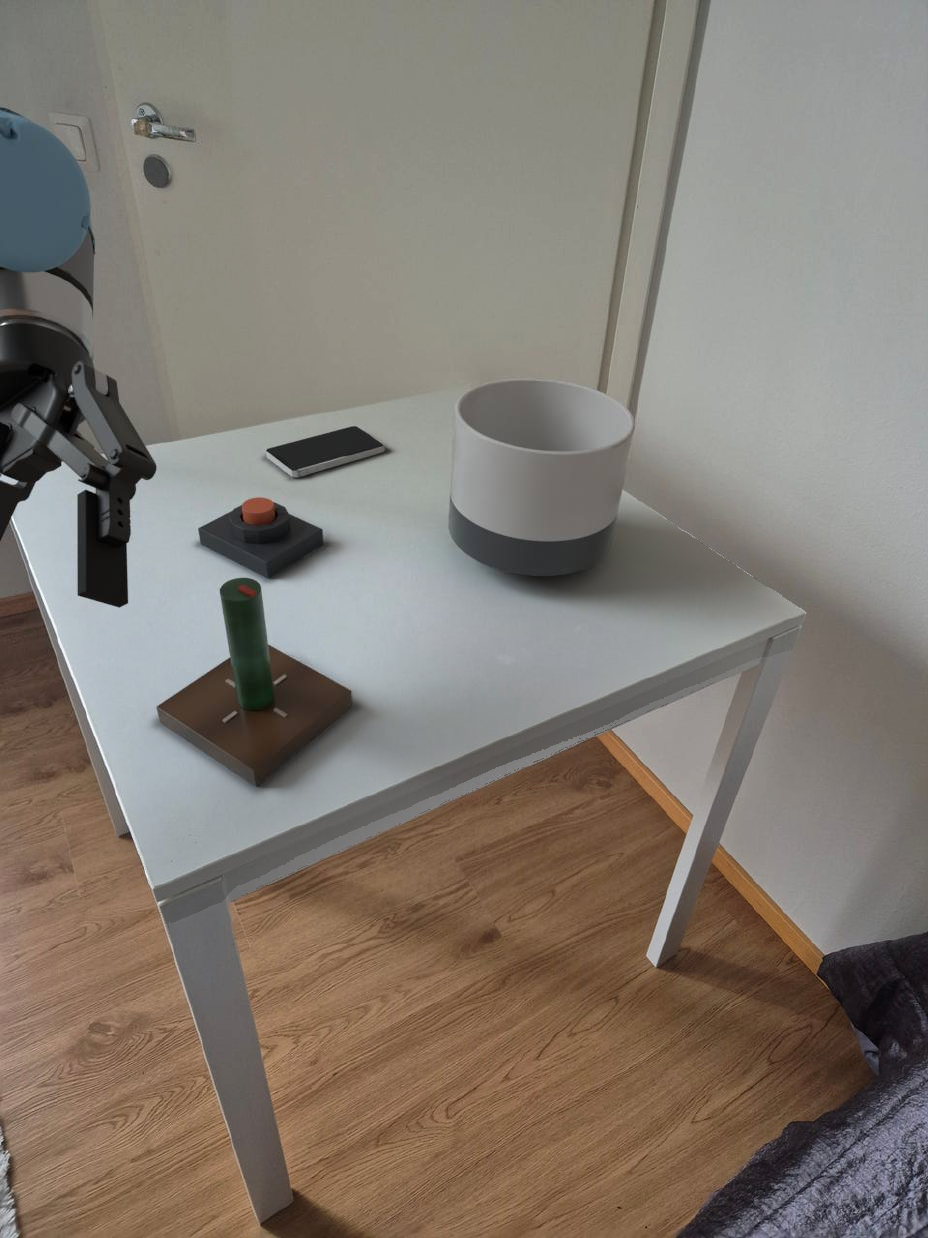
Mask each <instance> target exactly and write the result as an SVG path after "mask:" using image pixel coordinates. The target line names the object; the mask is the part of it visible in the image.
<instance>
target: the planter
mask: <svg viewBox="0 0 928 1238" xmlns="http://www.w3.org/2000/svg"><path fill="white" fill-rule="evenodd" d="M453 411H454V412H453V432H452V449H451V468H450V485H449V486H450V488H449V507H448V524H447V525H448V531H449V532H448V533H449V534H450V537H451V539H452V541H453V542H454V544H455V545H456V546H457V547H458V548H459V550H461V551H462V552H463V553H464V554H466V555H467V556H469V557H470V558H471V559H473V560H475V561H477V562H479V563H481V564H482V565H486V566H488V567H490V568H493V569H495V570H498V571H502V572H505V573H506V572H507V573H510V574H515V575H522V576H532V577H554V576H555V577H556V576H563V575H569V574H573V573H578V572H580V571H584V570H586V569H589V568H590V567H593V566H595V565H596V564H597V563H599V562H601V560H602V559H603V558H605V556H606V555H607V554H608V552H609V551H610V549H611V547H612V543H613V538H614V533H615V529H616V523H617V519H618V514H619V509H620V504H621V498H622V493H623V488H624V484H625V478H626V475H627V469H628V464H629V460H630V455H631V450H632V445H633V439H634V435H635V429H636V421H635V418H634V416H633V414H632V413H631V411H630V410H629V408H628V407H626V405H624V404H623V403H622V402H620V401H619V400H618V399H616V398H614V397H613V396H611V395H609V394H606V393H605V392H602V391H599V390H597V389H594V388H591V387H589V386H585V385H582V384H578V383H574V382H569V381H564V380H557V379H551V378H537V377H519V378H518V377H516V378H515V377H514V378H505V379H504V378H503V379H499V380H492V381H487V382H484V383H481V384H478V385H475V386H474V387H471V388H470V389H468V390H466V391H464V393H462V394H461V395H460V396H459V397H458V399H457V400H456V402H455V404H454V410H453Z"/></svg>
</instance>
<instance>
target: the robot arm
mask: <svg viewBox="0 0 928 1238" xmlns="http://www.w3.org/2000/svg"><path fill="white" fill-rule="evenodd" d="M91 207H92V205H91V195H90V191H89V184H88V183H87V179H86V176H85V174H84V172H83V170H82V167H81V166H80V164H79V162H78V160H77V159H76V157H75V156H74V154H73V153H72V152H71V151H70V149H69V148H68V146H67V145H66V144H65V143H64V142H63V141H62V140H61V139H60V138H59V137H57V136H56V135H55V134H54V133H52V132H51V131H50V130H48V129H47V128H45V127H44V126H42V125H41V124H38V123H36V122H34V121H32V120H30V119H29V118H27V117H25V116H23V115H22V114H21V113H18V112H15V111H13V110H11V109H10V108H7V107H1V106H0V478H1V477H2V475H3V476H5V477H6V478H7V477H8V478H10V479H12V480H15V481H17V482H16V483H15V484H12V483H9V482H6V481H4V480H1V479H0V542H1V541H2V539H3V537H4V534H5V532H6V530H7V527H9V526H8V525H9V523H10V522H11V519H12V517H13V516H14V513H15V511H16V508H17V506H18V504H19V503H20V502H26V501H27V500H28V499H29V498H30V496H31V494H32V491H33V489H34V487H35V485H36V483H37V482H39V481H40V480H41V479H42V478H43V477H44V476H45V475H46V474H48V473H51V472H54V471H56V470H58V469H59V468H61V467H62V462H63V463H64V464H65V465H66V466H67V467H68V468H69V469H71V471H73V472H74V473H75V474H76V475H77V476H78V477H79V478H78V479H77V481H78V482H80V483H82V484H85V485H86V486H90V487H91V488H94V489H95V492H93V491H90V490H88V489H84V490H82V491H81V492H79V493H78V494H77V499H76V502H77V504H76V505H77V507H76V510H77V515H76V516H77V517H76V518H77V522H76V525H77V526H76V527H77V532H76V533H77V550H76V551H77V558H76V559H77V561H76V562H77V568H76V569H77V570H76V571H77V572H76V573H77V597H82V598H85V599H88V600H91V601H95V602H98V603H102V604H105V605H109V606H111V607H115V608H122V607H124V606H126V605H128V604H129V579H128V543H130V538H131V535H132V528H131V527H132V526H131V524H132V523H131V500H133V499H134V497H135V495H136V493H137V484H138V483H139V482H140V481H141V480H142V479H143V480H145V481H150V480H151V479H153V477H155V474H156V472H157V463H156V461H155V460H154V458H153V456H152V455H151V453H150V451H149V450H148V448H147V446H146V445H145V443H144V441H143V440H142V438H141V436H140V435H139V433H138V431H137V429H136V428H135V426H134V425H133V423H132V421H131V420H130V418H129V415H127V413H126V411H125V410H124V408H123V406H122V404H121V403H120V396H119V389H118V382H117V380H116V379H115V378H113V377H111V376H109V375H108V374H106V373H104V372H102V371H101V370H99V369H98V368H95V364H94V324H93V323H94V319H93V318H94V279H95V278H94V275H95V274H94V273H95V271H94V269H95V255H96V239H95V235H94V232H93V227H92V216H91ZM84 422H86V423H87V425H88V427H89V429H90V430H91V433H92V434H93V436H94V438H95V439H96V441H97V444H98V445H99V447H100V449H101V450H102V453H103V454H104V456H105V457H104V456H103V455H102V454H101V453H100V452H98V450H96V449H95V445H94V444H92V443H91V442H90V441H89V440H87V439H86V438H85V437H84V436H83V435H82V433H81V432H80V431H78V428H79V426H80V425H81V424H82V423H84Z"/></svg>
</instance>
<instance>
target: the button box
mask: <svg viewBox="0 0 928 1238" xmlns="http://www.w3.org/2000/svg"><path fill="white" fill-rule="evenodd" d="M273 503H274V507H275V520H274V521H272V522H270V523H268V524H263V525H252V524H247V523H245V522H244V520H243V513H242V504H241V505H238V506H236V507H234V508H233V509H232V510H231V511H229V512H227V513H225V514H223V515H221V516H219V517H217V518H215V519H213V520H211V521H209V522H207V523H206V524H203V525H202V526H200V527H198V528H197V531H198V536H199V537H198V538H199V542H200V545H201V546H203V547H205V548H208V549H209V550H211V551H214V552H215V553H217V554H219V555H221V556H223V557H225V558H227V559H229V560H231V561H233V562H235V563H236V564H238V565H241V566H243V567H244V568H247V569H248V570H250V571H252V572H254V573H256V574H258V575H260V576H262V577H264V578H265V579H270V578H272V577H273V576H275V575H277V574H278V573H280V572H281V571H283V570H285V569H287V568H288V567H290V566H291V565H293V564H294V563H297V562H298V561H299V560H302V559H304V557H306V556H308V555H310V554H311V553H313V552H314V551H315V550H317V549H319V548H321V547H322V546H324V531H323V530H324V529H323V528H321V527H319V526H317V525H314V524H312V523H310V522H308V521H305V520H304V519H301V518H299V517H297V516H295V515H292V514H291V513H289V511H288V509H287V508H286V506H284V505H281V504H279V503H278V502H274V501H273Z"/></svg>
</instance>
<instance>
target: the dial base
mask: <svg viewBox="0 0 928 1238" xmlns="http://www.w3.org/2000/svg"><path fill="white" fill-rule="evenodd" d="M268 648H269V656H270V665H271V673H272V681H273V689H274V700H273V702H272V703H271V704H270V705H269V706H267V707H266V708H264V709H261V710H255V711H252V710H246V709H244V708H242V707H241V706H240V705H239V704H238V701H237V696H236V690H235V683H234V677H233V671H232V665H231V659H230V656H229V657H228V658H227V659H225V660H224V661H222V662H220V663H219V664H218V665H216V666H214V667H213V668H212V669H210V670H209V671H207V672H206V673H204V674H202V675H201V676H200V677H198V678H197V679H195V680H194V681H192V682H190V683H189V684H188V685H187V686H185V687H183V688H182V689H180V690H179V691H177V692H176V693H174V694H173V695H171V696H170V697H169V698H167V699H165V700H164V701H162V702H161V703H160V704H158V705H157V706H156V711H157V716H158V720H159V723H160V724H161V725H163V726H164V727H166V728H167V729H169V730H170V731H172V732H173V733H175V734H176V735H177V736H179V737H181V738H182V739H184V740H185V741H187V742H188V743H190V744H191V745H192V746H194V747H196V748H197V749H199V750H200V751H202V752H203V753H204V754H206V755H207V756H209V757H210V758H212V759H213V760H214V761H217V762H218V763H220V764H221V765H223V766H224V767H226V768H227V769H229V770H230V771H231V772H233V773H235V774H236V775H237V776H239V777H241V778H242V779H244V780H245V781H247V782H248V783H249V784H251V785H252V786H254V787H258V786H259V785H261V784H262V783H263V782H264V781H266V780H267V779H268V778H269V777H270V776H272V775H273V773H275V772H276V771H278V769H280V768H281V767H282V766H283V765H284V764H286V763H287V762H288V761H289V760H290V759H291V758H293V757H294V756H295V755H296V754H297V753H299V752H300V751H301V750H302V749H304V748H305V747H306V746H307V745H308V744H309V743H311V742H312V741H313V740H314V739H316V737H318V736H319V735H320V734H322V733H323V732H324V731H325V730H327V728H329V727H330V726H331V725H332V724H334V723H335V722H336V721H337V720H338V719H339V718H341V716H343V715H344V714H345V713H347V711H348V710H350V709H351V708H352V707H353V691H352V690H351V689H349V688H347V687H346V686H344V685H342V684H340V683H338V682H337V681H335V680H334V679H332V678H330V677H329V676H326V675H324V674H322V673H321V672H319V671H317V670H315V669H313V668H312V667H310V666H308V665H306V664H304V663H303V662H301V661H299V660H298V659H296V658H294V657H292V656H290V655H288V654H287V653H285V652H283V651H282V650H280V649H278V648H276V647H274V646H272V645H271V644H269V643H268Z"/></svg>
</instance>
